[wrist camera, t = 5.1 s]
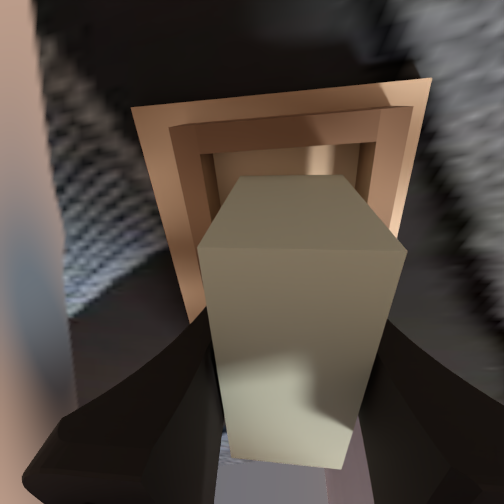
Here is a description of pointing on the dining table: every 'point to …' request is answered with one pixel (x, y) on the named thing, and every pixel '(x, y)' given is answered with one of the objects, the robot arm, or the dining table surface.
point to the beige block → (296, 313)
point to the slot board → (276, 154)
